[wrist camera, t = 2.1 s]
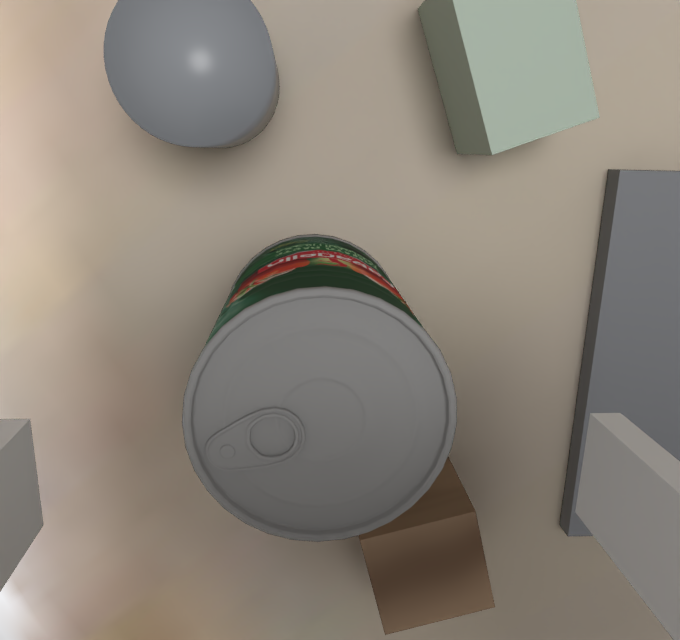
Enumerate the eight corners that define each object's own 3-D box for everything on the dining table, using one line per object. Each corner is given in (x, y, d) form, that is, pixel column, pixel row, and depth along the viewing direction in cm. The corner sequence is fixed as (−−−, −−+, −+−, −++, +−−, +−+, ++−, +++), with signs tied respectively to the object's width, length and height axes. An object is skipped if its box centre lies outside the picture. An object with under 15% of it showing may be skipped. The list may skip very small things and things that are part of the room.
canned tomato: (370, 209, 27) (417, 248, 16) (418, 369, 29) (489, 495, 18) (199, 266, 27) (136, 341, 16) (260, 421, 29) (239, 575, 18)
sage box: (544, 123, 26) (599, 117, 22) (456, 153, 26) (492, 154, 22) (510, -24, 25) (562, -66, 20) (417, 9, 25) (446, -25, 20)
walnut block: (464, 538, 32) (494, 607, 27) (371, 561, 32) (385, 634, 27) (446, 454, 30) (475, 511, 26) (349, 478, 30) (359, 540, 26)
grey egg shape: (279, 149, 26) (273, 149, 19) (159, 146, 25) (110, 144, 19) (279, 20, 24) (273, -29, 18) (152, 14, 24) (96, -38, 17)
